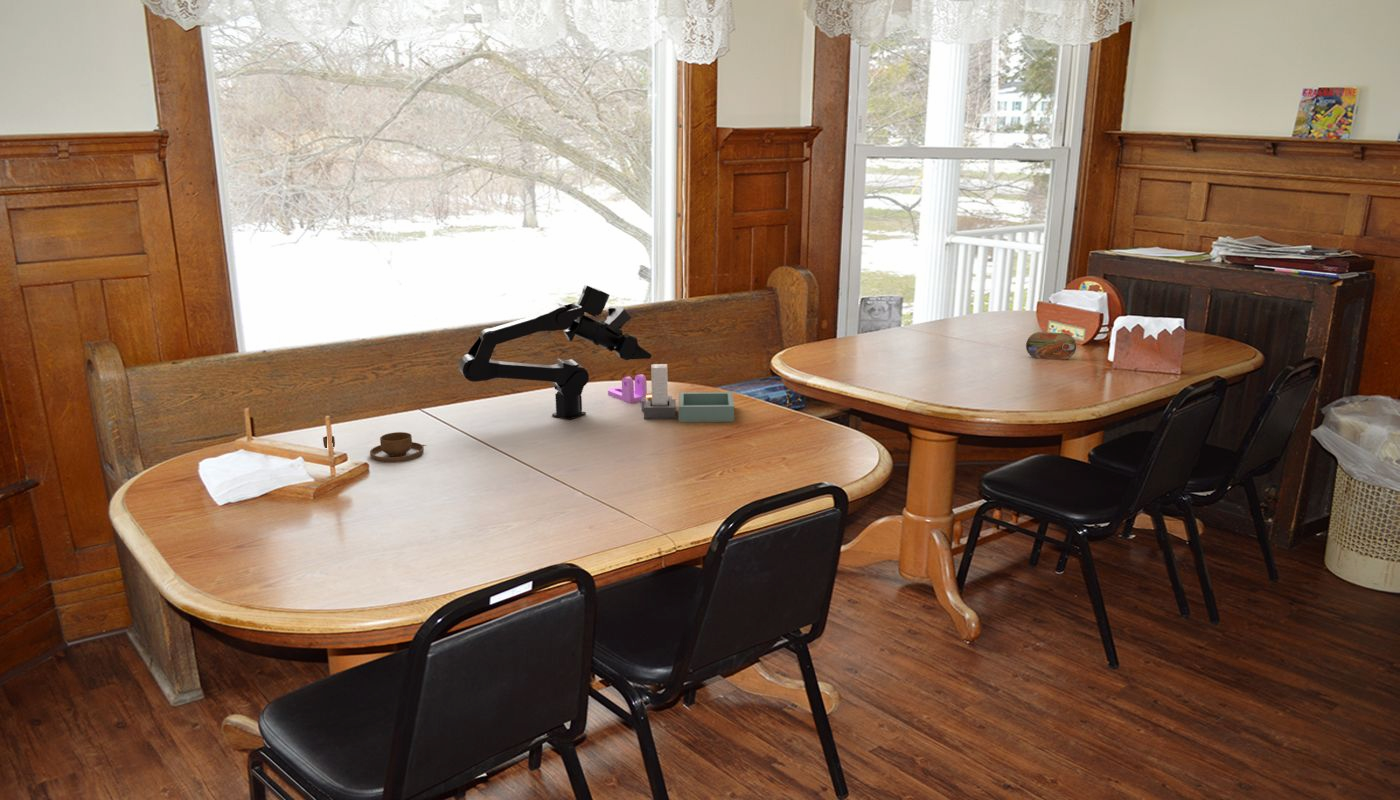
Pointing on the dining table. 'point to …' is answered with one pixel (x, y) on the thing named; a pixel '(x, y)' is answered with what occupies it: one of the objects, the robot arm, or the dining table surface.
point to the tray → (706, 407)
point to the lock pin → (659, 385)
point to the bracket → (630, 389)
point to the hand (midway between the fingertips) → (644, 353)
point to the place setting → (392, 447)
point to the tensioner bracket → (658, 408)
